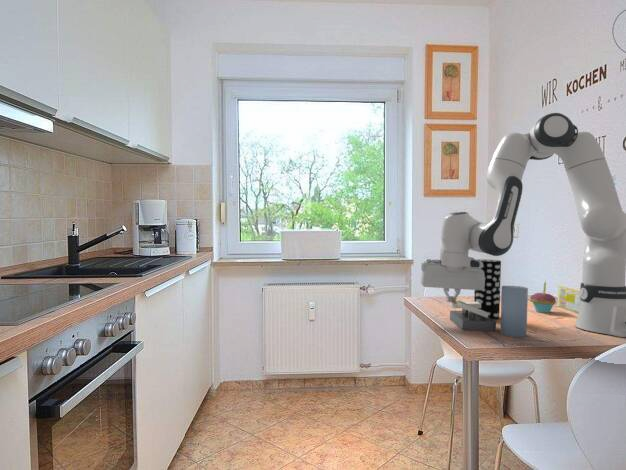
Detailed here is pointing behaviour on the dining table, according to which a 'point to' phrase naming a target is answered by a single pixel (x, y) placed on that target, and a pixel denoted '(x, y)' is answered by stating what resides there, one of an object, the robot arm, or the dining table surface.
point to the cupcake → (543, 301)
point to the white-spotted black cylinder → (490, 288)
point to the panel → (472, 321)
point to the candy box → (569, 299)
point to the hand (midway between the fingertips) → (451, 301)
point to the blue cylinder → (514, 311)
